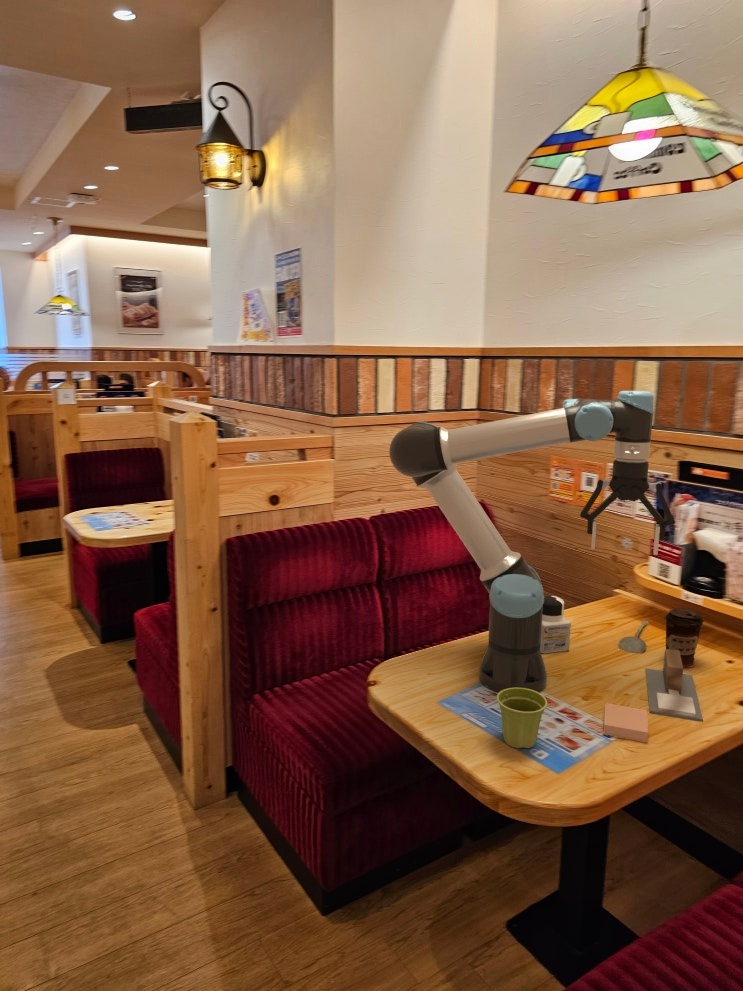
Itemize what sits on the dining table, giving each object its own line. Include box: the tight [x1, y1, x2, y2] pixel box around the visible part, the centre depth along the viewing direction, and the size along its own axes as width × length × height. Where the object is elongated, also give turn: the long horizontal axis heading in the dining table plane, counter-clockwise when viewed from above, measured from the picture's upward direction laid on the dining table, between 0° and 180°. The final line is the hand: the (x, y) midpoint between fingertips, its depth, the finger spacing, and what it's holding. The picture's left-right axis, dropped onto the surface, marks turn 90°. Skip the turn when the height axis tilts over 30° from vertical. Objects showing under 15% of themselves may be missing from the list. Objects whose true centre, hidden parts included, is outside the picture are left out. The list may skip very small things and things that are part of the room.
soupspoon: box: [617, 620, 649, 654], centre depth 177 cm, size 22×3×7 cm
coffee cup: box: [664, 607, 704, 669], centre depth 161 cm, size 9×8×13 cm
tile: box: [602, 702, 649, 743], centre depth 133 cm, size 8×2×9 cm
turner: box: [657, 648, 696, 717], centre depth 146 cm, size 7×20×6 cm, turn 160°
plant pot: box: [496, 688, 548, 749], centre depth 128 cm, size 9×9×9 cm
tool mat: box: [645, 667, 704, 722], centre depth 147 cm, size 10×21×1 cm, turn 160°
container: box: [540, 595, 572, 654], centre depth 170 cm, size 8×8×13 cm
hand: (623, 550), depth 155 cm, fingers open, 13 cm apart
